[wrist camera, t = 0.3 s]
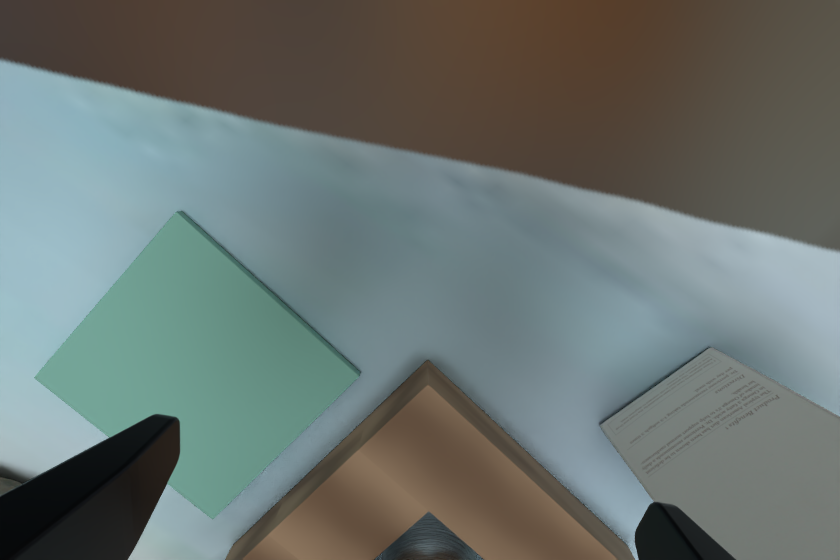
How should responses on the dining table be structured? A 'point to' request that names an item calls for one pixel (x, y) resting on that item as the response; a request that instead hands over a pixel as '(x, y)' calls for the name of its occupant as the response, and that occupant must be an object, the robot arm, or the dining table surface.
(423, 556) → the steel cylinder
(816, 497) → the supplement box
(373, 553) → the socket block
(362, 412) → the dining table surface
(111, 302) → the teal mat
